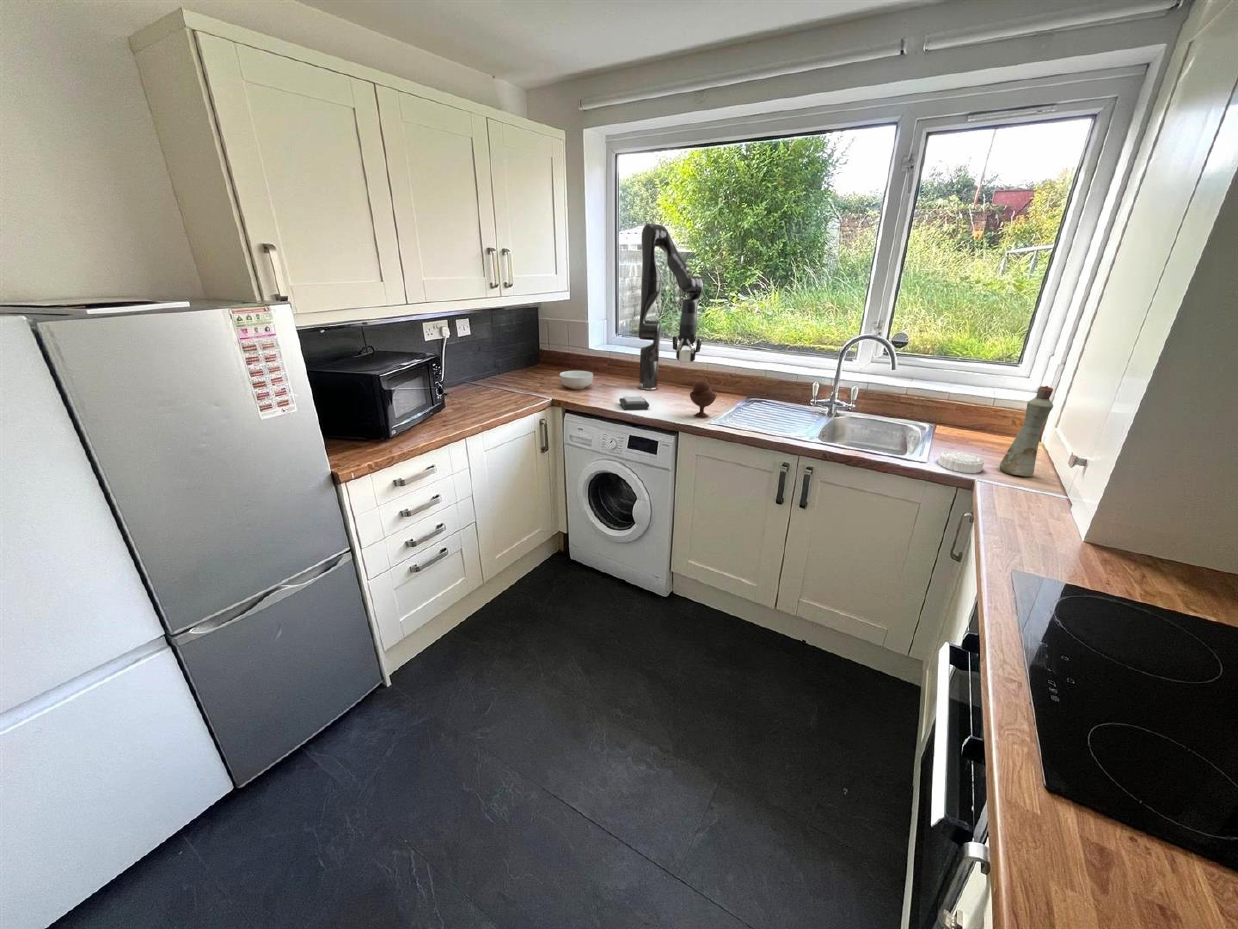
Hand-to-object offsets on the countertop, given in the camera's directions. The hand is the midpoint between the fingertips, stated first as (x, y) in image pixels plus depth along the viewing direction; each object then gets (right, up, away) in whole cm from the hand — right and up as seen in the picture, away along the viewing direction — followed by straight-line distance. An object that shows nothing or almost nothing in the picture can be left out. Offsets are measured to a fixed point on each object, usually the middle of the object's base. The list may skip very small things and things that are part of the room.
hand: (685, 360), depth 231 cm
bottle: (+94, -51, -73) cm, 130 cm away
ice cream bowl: (+3, -28, -23) cm, 37 cm away
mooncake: (+79, -49, -70) cm, 116 cm away
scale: (-24, -23, -13) cm, 36 cm away
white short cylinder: (0, -1, 0) cm, 1 cm away
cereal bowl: (-52, -10, +18) cm, 56 cm away
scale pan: (-24, -21, -13) cm, 35 cm away
